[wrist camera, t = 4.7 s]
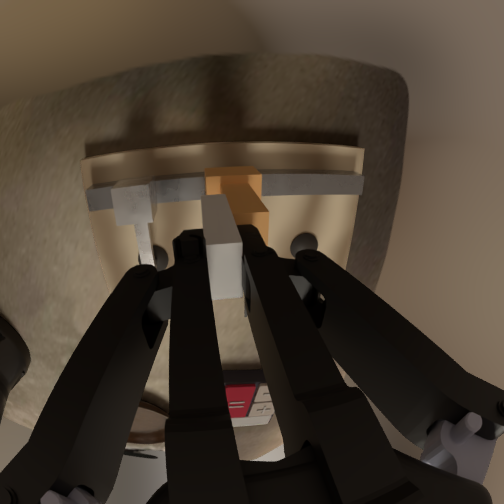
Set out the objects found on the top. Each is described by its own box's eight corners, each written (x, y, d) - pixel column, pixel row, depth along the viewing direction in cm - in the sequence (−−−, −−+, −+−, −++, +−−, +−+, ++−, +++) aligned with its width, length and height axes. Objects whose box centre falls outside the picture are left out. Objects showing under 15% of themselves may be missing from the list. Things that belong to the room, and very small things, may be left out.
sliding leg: (209, 262, 27) (220, 342, 18) (203, 164, 23) (210, 204, 13) (248, 258, 28) (276, 334, 19) (249, 162, 23) (288, 200, 14)
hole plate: (114, 293, 29) (111, 301, 28) (85, 157, 22) (79, 160, 20) (338, 271, 34) (344, 278, 33) (357, 146, 27) (365, 149, 25)
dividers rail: (110, 267, 26) (98, 295, 22) (91, 179, 21) (71, 195, 17) (342, 247, 31) (364, 269, 26) (354, 166, 26) (382, 179, 22)
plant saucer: (190, 430, 50) (191, 443, 47) (110, 433, 47) (109, 445, 44) (157, 384, 39) (157, 400, 37) (61, 387, 37) (58, 401, 34)
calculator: (292, 382, 40) (269, 426, 46) (284, 363, 43) (264, 409, 49) (223, 386, 37) (214, 430, 43) (219, 365, 40) (211, 412, 46)
